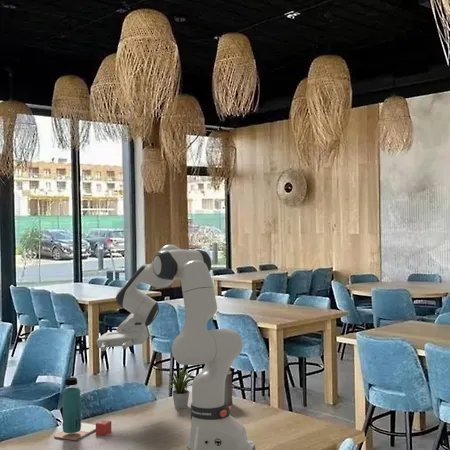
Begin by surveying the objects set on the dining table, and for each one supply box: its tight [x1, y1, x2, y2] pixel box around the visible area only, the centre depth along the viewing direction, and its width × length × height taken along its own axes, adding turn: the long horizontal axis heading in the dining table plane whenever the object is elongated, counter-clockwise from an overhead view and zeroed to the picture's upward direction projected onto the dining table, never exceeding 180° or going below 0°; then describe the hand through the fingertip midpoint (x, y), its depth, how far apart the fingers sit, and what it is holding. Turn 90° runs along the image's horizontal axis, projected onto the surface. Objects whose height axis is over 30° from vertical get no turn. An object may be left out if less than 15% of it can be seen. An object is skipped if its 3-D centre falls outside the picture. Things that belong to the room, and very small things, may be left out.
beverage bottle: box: [61, 377, 82, 433], centre depth 210 cm, size 6×7×20 cm
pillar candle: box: [224, 369, 233, 407], centre depth 247 cm, size 10×10×15 cm
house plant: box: [164, 367, 196, 410], centre depth 243 cm, size 14×14×16 cm
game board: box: [53, 421, 96, 442], centre depth 214 cm, size 10×17×1 cm, turn 158°
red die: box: [95, 419, 112, 437], centre depth 213 cm, size 4×4×4 cm
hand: (113, 348), depth 229 cm, fingers open, 8 cm apart
